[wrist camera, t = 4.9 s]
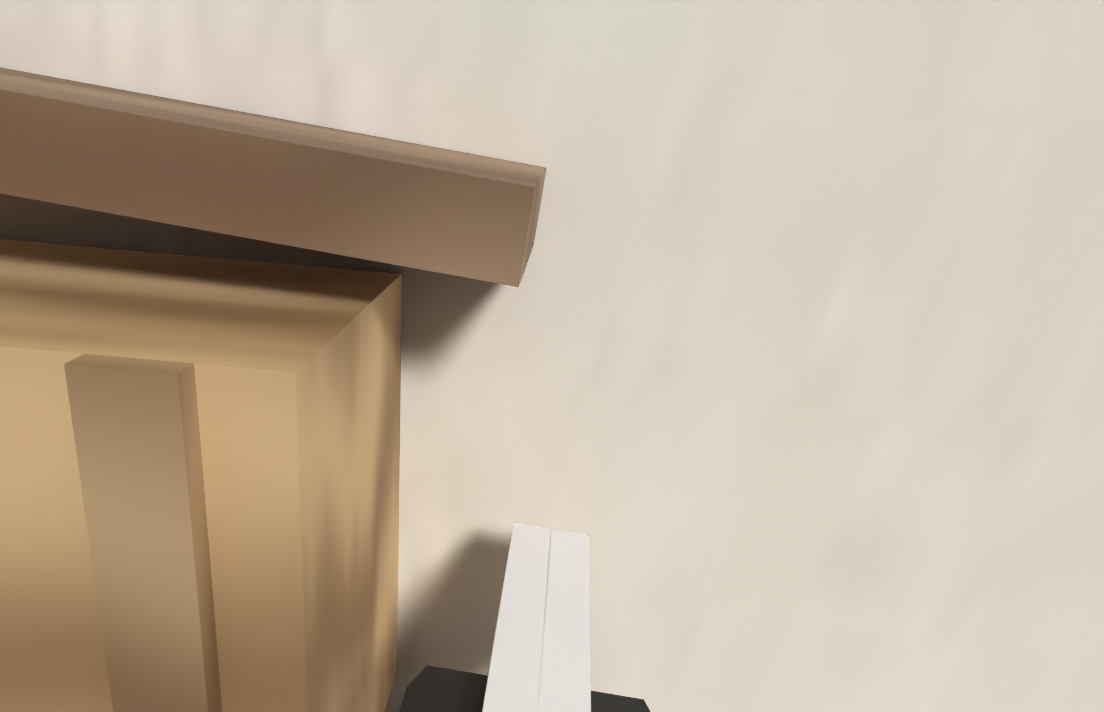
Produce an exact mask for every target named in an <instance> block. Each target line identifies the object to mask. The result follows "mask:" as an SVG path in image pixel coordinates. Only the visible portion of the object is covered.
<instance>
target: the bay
mask: <svg viewBox="0 0 1104 712" xmlns="http://www.w3.org/2000/svg"><path fill="white" fill-rule="evenodd" d="M545 173H546V168H544V167H539V166H534V165H528V164H523V163H517V162H512V161H506V160H501V159H495V158H490V157H484V156H479V155H474V154H468V153H463V152H457V151H452V150H446V149H441V148H435V147H430V146H425V145H419V144H414V143H408V142H403V141H397V140H392V139H386V138H381V137H376V136H370V135H365V134H359V133H354V132H348V131H343V130H337V129H332V128H327V127H321V126H316V125H310V124H305V123H299V122H294V121H288V120H283V119H278V118H272V117H267V116H261V115H256V114H250V113H245V112H239V111H234V110H229V109H223V108H218V107H212V106H207V105H201V104H196V103H190V102H185V101H179V100H174V99H169V98H163V97H158V96H152V95H147V94H141V93H136V92H130V91H125V90H120V89H114V88H109V87H103V86H98V85H92V84H87V83H81V82H76V81H71V80H65V79H60V78H54V77H49V76H43V75H38V74H32V73H27V72H22V71H16V70H11V69H5V68H0V194H6V195H11V196H17V197H22V198H28V199H33V200H39V201H44V202H50V203H56V204H61V205H67V206H72V207H78V208H83V209H89V210H94V211H100V212H105V213H111V214H116V215H122V216H128V217H133V218H139V219H144V220H150V221H155V222H161V223H166V224H172V225H177V226H183V227H188V228H194V229H200V230H205V231H211V232H216V233H222V234H227V235H233V236H238V237H244V238H249V239H255V240H260V241H266V242H272V243H277V244H283V245H288V246H294V247H299V248H305V249H310V250H316V251H321V252H327V253H332V254H338V255H344V256H349V257H355V258H360V259H366V260H371V261H377V262H382V263H388V264H393V265H399V266H404V267H410V268H416V269H421V270H427V271H432V272H438V273H443V274H449V275H454V276H460V277H465V278H471V279H476V280H482V281H488V282H493V283H499V284H504V285H510V286H515V287H519V284H520V282H521V279H522V276H523V273H524V270H525V268H526V265H527V262H528V259H529V256H530V253H531V251H532V248H533V244H534V238H535V232H536V227H537V221H538V215H539V209H540V203H541V197H542V191H543V185H544V179H545Z"/></svg>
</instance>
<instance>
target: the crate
mask: <svg viewBox="0 0 1104 712" xmlns="http://www.w3.org/2000/svg"><path fill="white" fill-rule="evenodd" d="M401 305H402V274H398V273H386V272H375V271H363V270H352V269H340V268H328V267H317V266H305V265H293V264H282V263H270V262H258V261H247V260H235V259H223V258H212V257H200V256H189V255H177V254H165V253H154V252H142V251H130V250H119V249H107V248H95V247H84V246H72V245H60V244H49V243H37V242H26V241H14V240H2V239H0V712H385V710H386V707H387V704H388V701H389V698H390V695H391V691H392V688H393V685H394V682H395V679H396V676H397V604H398V529H399V455H400V380H401Z"/></svg>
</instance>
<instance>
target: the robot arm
mask: <svg viewBox="0 0 1104 712" xmlns="http://www.w3.org/2000/svg"><path fill="white" fill-rule="evenodd" d="M400 712H650V710H649V708H648V707H647V705H646V703H645V701H644V700H643V699H637V698H631V697H625V696H619V695H613V694H607V693H601V692H595V691H591V673H590V595H589V535H585V534H579V533H573V532H567V531H561V530H556V529H550V528H544V527H538V526H532V525H526V524H520V523H514V524H513V530H512V536H511V541H510V547H509V553H508V558H507V564H506V570H505V575H504V581H503V587H502V592H501V598H500V604H499V609H498V615H497V621H496V626H495V632H494V638H493V644H492V650H491V656H490V662H489V668H488V674H487V676H486V675H480V674H474V673H468V672H462V671H456V670H450V669H444V668H438V667H432V666H426V667H425V668H424V669H423V670H422V671H421V673H420V674H419V675H418V676H417V677H416V678H415V679H414V680H413V681H412V682H411V683H410V685H409V686H408V687H407V689H406V692H405V695H404V699H403V702H402V705H401V708H400Z"/></svg>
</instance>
